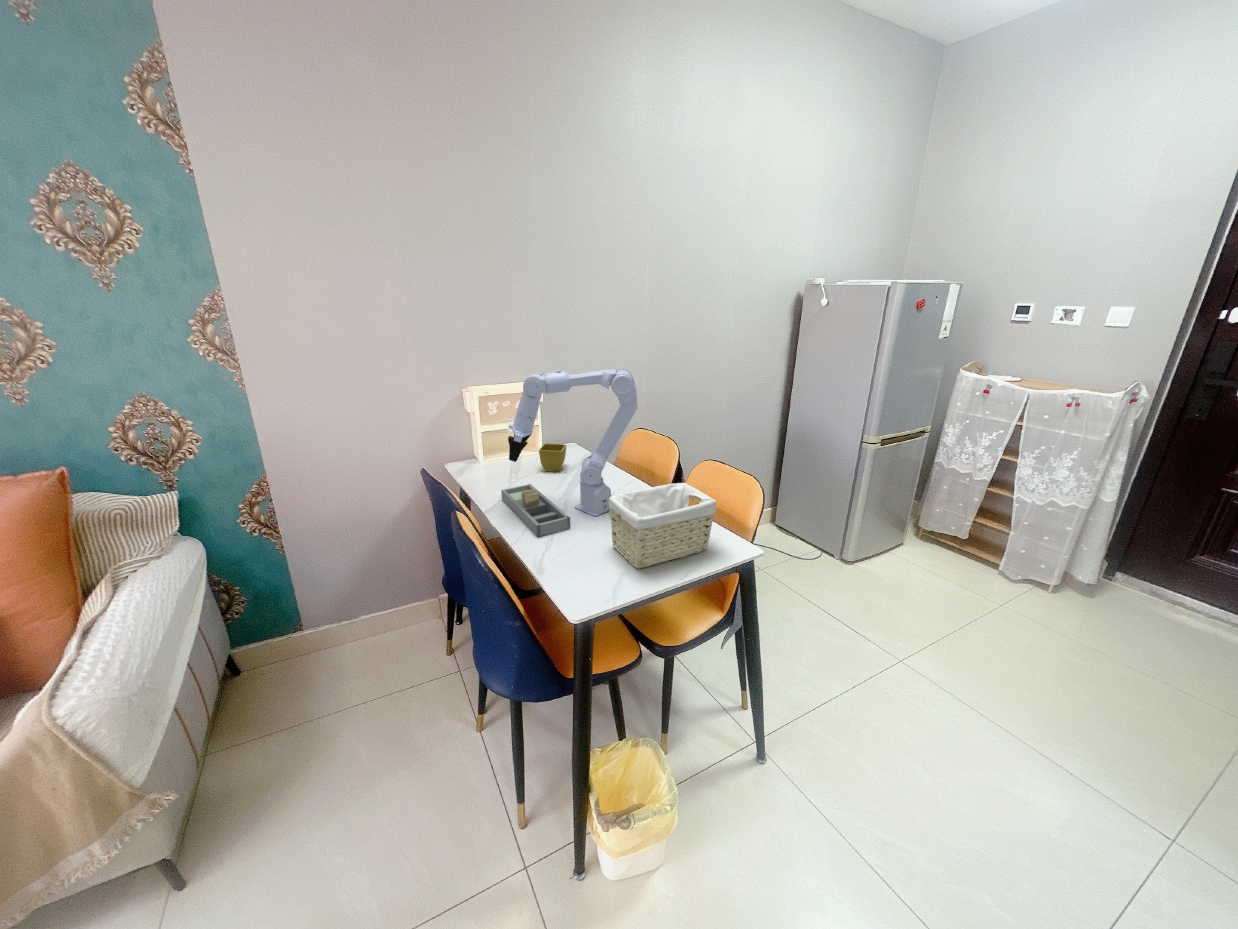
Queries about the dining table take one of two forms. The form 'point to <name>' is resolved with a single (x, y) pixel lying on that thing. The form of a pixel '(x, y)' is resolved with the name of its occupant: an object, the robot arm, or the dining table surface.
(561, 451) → the flower pot
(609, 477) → the dining table surface
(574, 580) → the dining table surface
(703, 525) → the storage basket
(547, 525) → the box
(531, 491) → the maple block
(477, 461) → the dining table surface
